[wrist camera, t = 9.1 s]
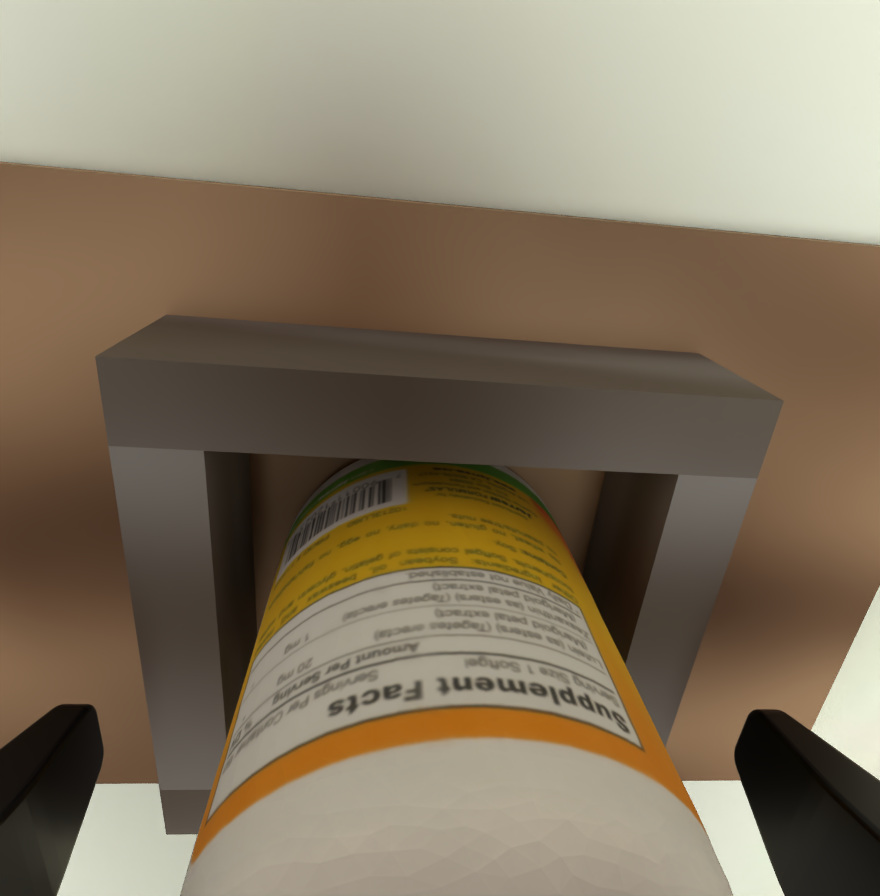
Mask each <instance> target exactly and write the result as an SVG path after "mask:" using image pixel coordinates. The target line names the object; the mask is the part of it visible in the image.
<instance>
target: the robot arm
mask: <svg viewBox="0 0 880 896" xmlns="http://www.w3.org/2000/svg"><path fill="white" fill-rule="evenodd" d="M103 757H104V746H103V741H102V736H101V731H100V726H99V721H98V716H97V712H96V709H95V708H94V706H92V705H90V704H61V705H58V706H56V707H54V708H53V709H51V710H50V711H49V712H47V713H46V714H45V715H43V716H42V717H41V718H39V719H38V720H37V721H36V722H34V723H33V724H32V725H30V726H29V727H28V728H26V729H25V730H24V731H23V732H21V733H20V734H19V735H17V736H16V737H15V738H13V739H12V740H11V741H10V742H8V743H7V744H6V745H4V746H3V747H2V748H0V896H57V893H58V890H59V888H60V885H61V882H62V880H63V877H64V874H65V871H66V868H67V865H68V862H69V860H70V857H71V854H72V851H73V848H74V845H75V842H76V839H77V836H78V834H79V831H80V828H81V825H82V822H83V819H84V816H85V813H86V810H87V808H88V805H89V802H90V799H91V796H92V793H93V790H94V787H95V784H96V782H97V779H98V776H99V773H100V770H101V767H102V763H103ZM734 760H735V765H736V768H737V771H738V774H739V777H740V779H741V782H742V785H743V788H744V790H745V793H746V796H747V798H748V801H749V804H750V807H751V809H752V812H753V815H754V818H755V820H756V823H757V826H758V829H759V831H760V834H761V837H762V839H763V842H764V845H765V848H766V850H767V853H768V856H769V859H770V861H771V864H772V866H773V869H774V871H775V874H776V876H777V879H778V881H779V884H780V886H781V888H782V891H783V893H784V895H785V896H880V780H878V779H877V778H875V777H874V776H873V775H871V774H870V773H869V772H867V771H866V770H864V769H863V768H862V767H860V766H859V765H857V764H856V763H855V762H853V761H852V760H851V759H849V758H848V757H846V756H845V755H844V754H842V753H841V752H840V751H838V750H837V749H835V748H834V747H833V746H831V745H830V744H828V743H827V742H826V741H824V740H823V739H822V738H820V737H819V736H817V735H816V734H815V733H813V732H812V731H811V730H809V729H808V728H806V727H805V726H804V725H802V724H801V723H799V722H798V721H797V720H795V719H794V718H793V717H791V716H790V715H788V714H787V713H785V712H783V711H781V710H777V709H755V710H753V711H751V712H750V713H749V714H748V716H747V718H746V721H745V723H744V726H743V728H742V731H741V733H740V736H739V738H738V741H737V743H736V746H735V749H734Z"/></svg>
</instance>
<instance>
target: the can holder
mask: <svg viewBox="0 0 880 896" xmlns="http://www.w3.org/2000/svg"><path fill="white" fill-rule="evenodd" d="M361 459H376V460H396V461H416V462H436V463H456V464H476V465H496V466H505V467H507V468H508V469H510V470H511V471H512V472H514V473H515V474H517V475H518V476H519V477H520V478H522V479H523V480H524V481H525V482H526V483H527V484H528V485H529V486H530V487H531V488H532V489H533V490H534V491H535V492H536V493H537V494H538V496H539V497H540V498H541V499H542V501H543V502H544V504H545V505H546V507H547V508H548V510H549V511H550V513H551V515H552V517H553V519H554V521H555V522H556V524H557V526H558V528H559V530H560V532H561V534H562V536H563V538H564V540H565V542H566V544H567V546H568V548H569V550H570V552H571V554H572V556H573V558H574V560H575V562H576V564H577V567H578V569H579V571H580V573H581V575H582V577H583V579H584V581H585V583H586V585H587V587H588V589H589V591H590V593H591V595H592V597H593V599H594V602H595V604H596V606H597V608H598V610H599V612H600V615H601V617H602V619H603V621H604V623H605V625H606V627H607V629H608V631H609V633H610V635H611V637H612V639H613V641H614V643H615V645H616V647H617V649H618V651H619V653H620V655H621V657H622V659H623V661H624V663H625V665H626V667H627V670H628V672H629V674H630V676H631V678H632V680H633V682H634V684H635V686H636V688H637V690H638V692H639V694H640V697H641V699H642V701H643V703H644V705H645V707H646V709H647V711H648V713H649V715H650V717H651V719H652V721H653V723H654V725H655V728H656V730H657V732H658V734H659V736H660V738H661V740H662V742H663V744H664V746H665V748H666V750H667V752H668V754H669V756H670V758H671V760H672V763H673V765H674V767H675V769H676V771H677V773H678V775H679V777H680V779H681V781H710V780H741V779H740V777H739V774H738V771H737V768H736V765H735V760H734V749H735V746H736V743H737V741H738V738H739V736H740V733H741V731H742V728H743V726H744V723H745V721H746V718H747V716H748V714H749V713H750V712H751V711H753V710H755V709H777V710H781V711H783V712H785V713H787V714H788V715H790V716H791V717H793V718H794V719H795V720H797V721H798V722H799V723H801V724H802V725H804V726H805V727H806V728H808V729H809V730H811V729H812V727H813V725H814V723H815V720H816V718H817V716H818V714H819V712H820V710H821V708H822V706H823V704H824V701H825V699H826V697H827V695H828V693H829V691H830V689H831V687H832V685H833V683H834V680H835V678H836V676H837V674H838V672H839V670H840V668H841V666H842V664H843V661H844V659H845V657H846V655H847V653H848V651H849V649H850V647H851V645H852V643H853V640H854V638H855V636H856V634H857V632H858V630H859V628H860V626H861V624H862V621H863V619H864V617H865V615H866V613H867V611H868V609H869V607H870V605H871V602H872V600H873V598H874V596H875V594H876V592H877V590H878V588H879V586H880V245H871V244H860V243H849V242H839V241H828V240H818V239H807V238H797V237H786V236H776V235H765V234H755V233H744V232H734V231H723V230H713V229H702V228H692V227H681V226H671V225H660V224H650V223H639V222H629V221H618V220H608V219H597V218H587V217H576V216H566V215H555V214H545V213H534V212H524V211H513V210H502V209H492V208H481V207H471V206H460V205H450V204H439V203H429V202H418V201H408V200H397V199H387V198H376V197H366V196H355V195H345V194H334V193H324V192H313V191H303V190H292V189H282V188H271V187H261V186H250V185H240V184H229V183H219V182H208V181H198V180H187V179H176V178H166V177H155V176H145V175H134V174H124V173H113V172H103V171H92V170H82V169H71V168H61V167H50V166H40V165H29V164H19V163H8V162H0V748H2V747H3V746H4V745H6V744H7V743H8V742H10V741H11V740H12V739H13V738H15V737H16V736H17V735H19V734H20V733H21V732H23V731H24V730H25V729H26V728H28V727H29V726H30V725H32V724H33V723H34V722H36V721H37V720H38V719H39V718H41V717H42V716H43V715H45V714H46V713H47V712H49V711H50V710H51V709H53V708H54V707H56V706H58V705H61V704H90V705H92V706H94V708H95V709H96V712H97V716H98V721H99V726H100V731H101V736H102V741H103V746H104V757H103V763H102V767H101V770H100V773H99V776H98V779H97V782H96V784H120V783H159V789H160V796H161V802H162V809H163V816H164V822H165V829H166V834H198V832H199V829H200V826H201V823H202V819H203V816H204V813H205V810H206V807H207V803H208V800H209V796H210V793H211V789H212V786H213V782H214V779H215V776H216V773H217V770H218V766H219V763H220V760H221V757H222V753H223V750H224V747H225V743H226V740H227V736H228V733H229V730H230V726H231V723H232V720H233V716H234V713H235V710H236V706H237V703H238V700H239V696H240V693H241V690H242V686H243V683H244V680H245V677H246V673H247V670H248V667H249V663H250V660H251V656H252V653H253V650H254V646H255V643H256V639H257V636H258V633H259V629H260V626H261V622H262V619H263V615H264V612H265V609H266V605H267V602H268V598H269V595H270V591H271V588H272V585H273V581H274V578H275V574H276V571H277V568H278V564H279V561H280V558H281V555H282V552H283V548H284V545H285V543H286V540H287V537H288V535H289V532H290V529H291V527H292V525H293V523H294V521H295V519H296V517H297V515H298V514H299V512H300V510H301V509H302V507H303V506H304V505H305V503H306V502H307V501H308V499H309V498H310V497H311V496H312V494H313V493H314V492H315V491H316V490H317V489H318V488H319V487H320V486H321V485H322V484H324V483H325V482H326V481H327V480H328V479H330V478H331V477H332V476H333V475H335V474H336V473H338V472H339V471H340V470H342V469H343V468H345V467H347V466H349V465H351V464H352V463H354V462H356V461H359V460H361Z"/></svg>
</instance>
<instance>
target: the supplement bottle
mask: <svg viewBox="0 0 880 896" xmlns="http://www.w3.org/2000/svg"><path fill="white" fill-rule="evenodd" d="M180 896H733V894H732V891H731V888H730V885H729V882H728V880H727V878H726V876H725V874H724V872H723V869H722V867H721V865H720V863H719V861H718V859H717V857H716V854H715V852H714V850H713V847H712V844H711V842H710V839H709V837H708V835H707V833H706V830H705V828H704V826H703V824H702V822H701V820H700V817H699V815H698V813H697V811H696V809H695V807H694V805H693V803H692V801H691V799H690V797H689V795H688V793H687V791H686V789H685V787H684V785H683V783H682V781H681V779H680V777H679V775H678V773H677V771H676V769H675V767H674V765H673V763H672V760H671V758H670V756H669V754H668V752H667V750H666V748H665V746H664V744H663V742H662V740H661V738H660V736H659V734H658V732H657V730H656V728H655V725H654V723H653V721H652V719H651V717H650V715H649V713H648V711H647V709H646V707H645V705H644V703H643V701H642V699H641V697H640V694H639V692H638V690H637V688H636V686H635V684H634V682H633V680H632V678H631V676H630V674H629V672H628V670H627V667H626V665H625V663H624V661H623V659H622V657H621V655H620V653H619V651H618V649H617V647H616V645H615V643H614V641H613V639H612V637H611V635H610V633H609V631H608V629H607V627H606V625H605V623H604V621H603V619H602V617H601V615H600V612H599V610H598V608H597V606H596V604H595V602H594V599H593V597H592V595H591V593H590V591H589V589H588V587H587V585H586V583H585V581H584V579H583V577H582V575H581V573H580V571H579V569H578V567H577V564H576V562H575V560H574V558H573V556H572V554H571V552H570V550H569V548H568V546H567V544H566V542H565V540H564V538H563V536H562V534H561V532H560V530H559V528H558V526H557V524H556V522H555V521H554V519H553V517H552V515H551V513H550V511H549V510H548V508H547V507H546V505H545V504H544V502H543V501H542V499H541V498H540V497H539V496H538V494H537V493H536V492H535V491H534V490H533V489H532V488H531V487H530V486H529V485H528V484H527V483H526V482H525V481H524V480H523V479H522V478H520V477H519V476H518V475H517V474H515V473H514V472H512V471H511V470H510V469H508V468H507V467H505V466H496V465H476V464H456V463H436V462H416V461H396V460H376V459H361V460H359V461H356V462H354V463H352V464H351V465H349V466H347V467H345V468H343V469H342V470H340V471H339V472H338V473H336V474H335V475H333V476H332V477H331V478H330V479H328V480H327V481H326V482H325V483H324V484H322V485H321V486H320V487H319V488H318V489H317V490H316V491H315V492H314V493H313V494H312V496H311V497H310V498H309V499H308V501H307V502H306V503H305V505H304V506H303V507H302V509H301V510H300V512H299V514H298V515H297V517H296V519H295V521H294V523H293V525H292V527H291V529H290V532H289V535H288V537H287V540H286V543H285V545H284V548H283V552H282V555H281V558H280V561H279V564H278V568H277V571H276V574H275V578H274V581H273V585H272V588H271V591H270V595H269V598H268V602H267V605H266V609H265V612H264V615H263V619H262V622H261V626H260V629H259V633H258V636H257V639H256V643H255V646H254V650H253V653H252V656H251V660H250V663H249V667H248V670H247V673H246V677H245V680H244V683H243V686H242V690H241V693H240V696H239V700H238V703H237V706H236V710H235V713H234V716H233V720H232V723H231V726H230V730H229V733H228V736H227V740H226V743H225V747H224V750H223V753H222V757H221V760H220V763H219V766H218V770H217V773H216V776H215V779H214V782H213V786H212V789H211V793H210V796H209V800H208V803H207V807H206V810H205V813H204V816H203V819H202V823H201V826H200V829H199V832H198V835H197V839H196V842H195V845H194V849H193V852H192V856H191V859H190V863H189V866H188V870H187V873H186V877H185V880H184V884H183V888H182V891H181V895H180Z"/></svg>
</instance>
